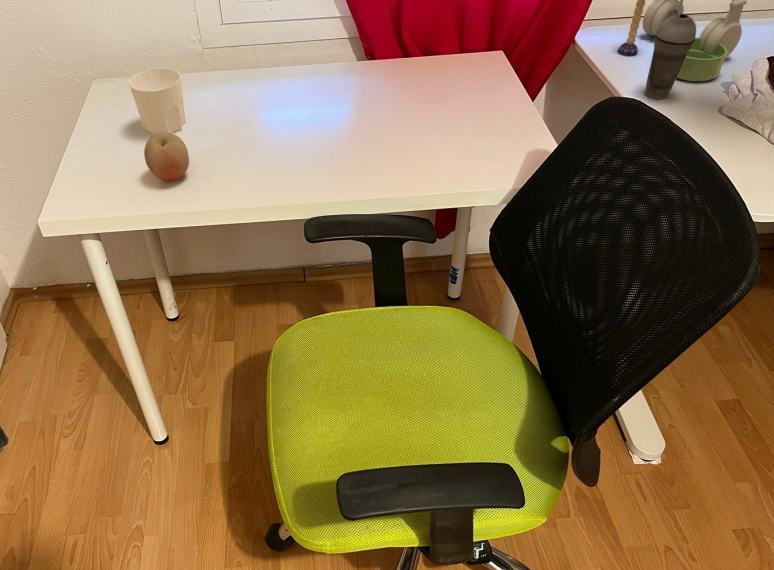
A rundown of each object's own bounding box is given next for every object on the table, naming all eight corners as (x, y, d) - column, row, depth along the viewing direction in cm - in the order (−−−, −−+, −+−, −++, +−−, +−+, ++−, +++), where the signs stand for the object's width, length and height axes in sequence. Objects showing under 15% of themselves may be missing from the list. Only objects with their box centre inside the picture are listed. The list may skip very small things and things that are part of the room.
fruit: (148, 189, 124) (137, 150, 118) (151, 166, 130) (142, 127, 124) (191, 185, 124) (183, 146, 119) (193, 162, 130) (185, 123, 124)
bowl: (729, 76, 144) (739, 53, 140) (687, 87, 141) (696, 63, 138) (692, 56, 151) (700, 33, 147) (651, 66, 149) (658, 43, 145)
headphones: (734, 58, 149) (772, -39, 135) (706, 67, 147) (743, -30, 133) (662, 28, 162) (691, -64, 148) (636, 36, 159) (662, -56, 145)
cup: (131, 126, 141) (119, 79, 134) (173, 109, 145) (163, 63, 138) (156, 144, 135) (145, 96, 128) (198, 126, 139) (190, 79, 132)
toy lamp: (612, 49, 156) (633, -31, 144) (630, 45, 156) (653, -34, 144) (624, 57, 152) (647, -24, 140) (642, 54, 153) (667, -27, 141)
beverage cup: (662, 106, 137) (698, 0, 122) (630, 94, 141) (661, -10, 126) (682, 94, 140) (719, -11, 125) (650, 82, 144) (682, -20, 129)
